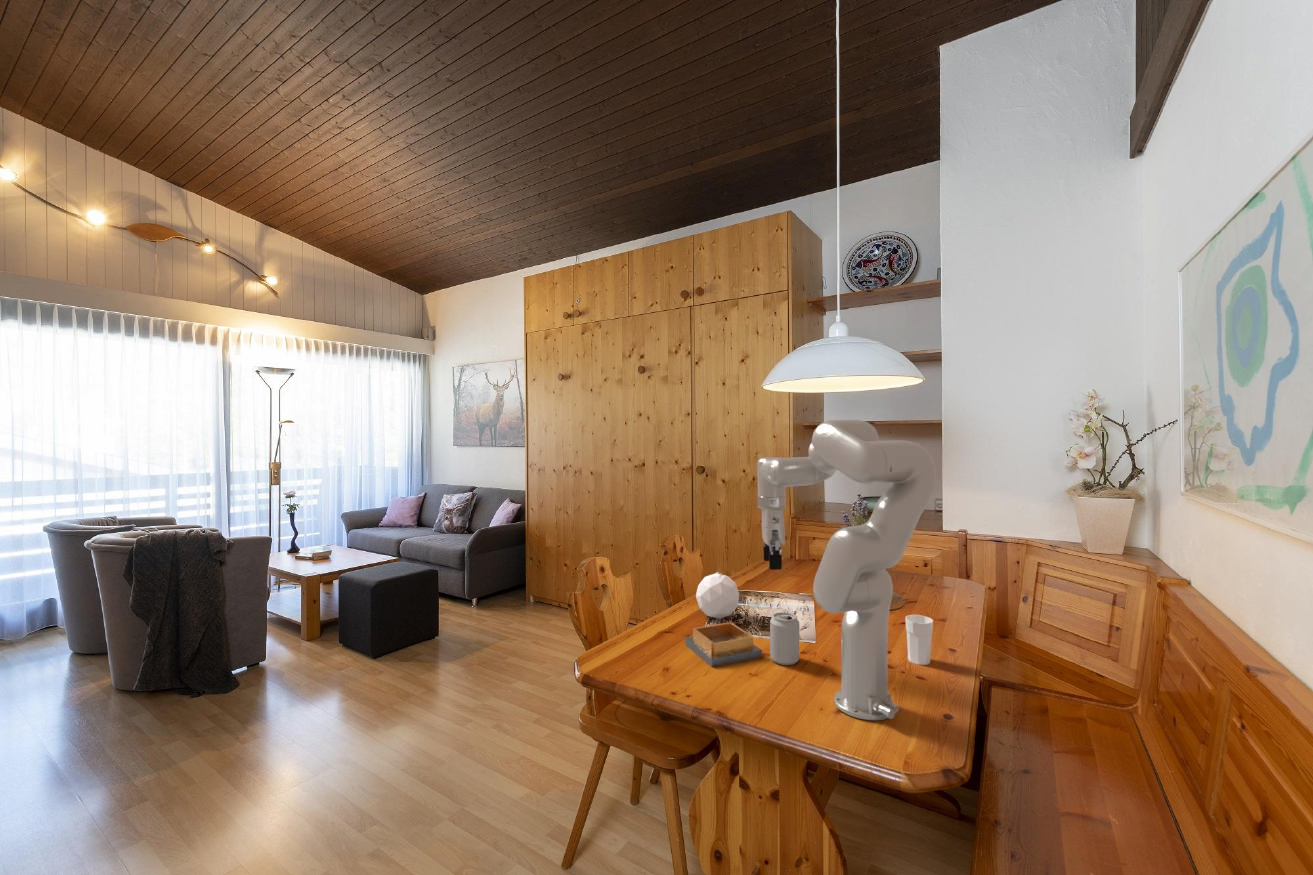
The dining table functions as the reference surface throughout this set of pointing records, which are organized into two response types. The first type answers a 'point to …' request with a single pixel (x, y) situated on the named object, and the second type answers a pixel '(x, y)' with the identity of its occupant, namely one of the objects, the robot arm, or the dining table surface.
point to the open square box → (723, 644)
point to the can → (784, 638)
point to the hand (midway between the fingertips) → (772, 564)
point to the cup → (919, 638)
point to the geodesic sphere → (717, 595)
